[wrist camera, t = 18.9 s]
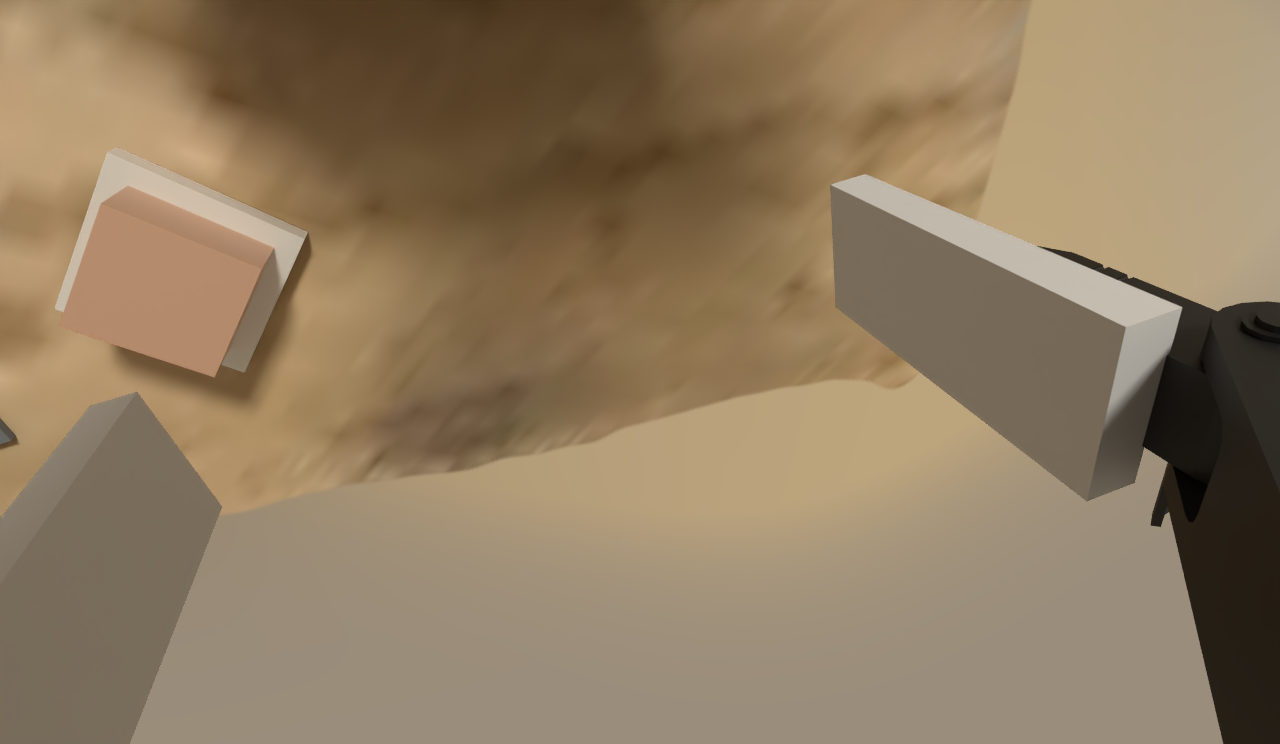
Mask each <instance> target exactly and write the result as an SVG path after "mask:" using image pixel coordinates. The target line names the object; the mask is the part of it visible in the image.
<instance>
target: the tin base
mask: <svg viewBox="0 0 1280 744" xmlns="http://www.w3.org/2000/svg"><path fill="white" fill-rule="evenodd" d="M307 233H308V232H307V231H304V230H302V229H300V228H298V227H295V226H293V225H291V224H289V223H286V222H284V221H282V220H280V219H277V218H275V217H273V216H271V215H268V214H266V213H264V212H262V211H259V210H257V209H255V208H253V207H250V206H248V205H246V204H244V203H242V202H239V201H237V200H235V199H233V198H230V197H228V196H226V195H224V194H221V193H219V192H217V191H215V190H212V189H210V188H208V187H206V186H203V185H201V184H199V183H197V182H194V181H192V180H190V179H188V178H185V177H183V176H181V175H179V174H176V173H174V172H172V171H170V170H168V169H165V168H163V167H161V166H159V165H156V164H154V163H152V162H150V161H147V160H145V159H143V158H141V157H138V156H136V155H134V154H132V153H129V152H127V151H125V150H123V149H120V148H118V147H116V148H114V149H112V150H110V151H109V152H107V154H106V157H105V160H104V163H103V166H102V169H101V172H100V175H99V178H98V181H97V184H96V187H95V190H94V193H93V196H92V199H91V202H90V205H89V208H88V211H87V214H86V217H85V220H84V223H83V226H82V229H81V232H80V235H79V238H78V241H77V244H76V247H75V250H74V252H73V255H72V258H71V261H70V264H69V267H68V270H67V273H66V276H65V279H64V282H63V285H62V288H61V291H60V294H59V297H58V300H57V303H56V306H55V309H56V310H59V311H62V312H63V315H62V318H61V321H60V324H59V327H62V328H65V329H68V330H71V331H74V332H77V333H80V334H83V335H86V336H89V337H92V338H95V339H98V340H101V341H104V342H107V343H111V344H114V345H117V346H120V347H123V348H126V349H129V350H132V351H135V352H138V353H141V354H144V355H147V356H150V357H153V358H156V359H159V360H163V361H166V362H169V363H172V364H175V365H178V366H181V367H184V368H187V369H190V370H193V371H196V372H199V373H202V374H205V375H208V376H211V377H215V376H216V374H217V372H218V370H219V368H220V367H221V365H222V366H225V367H228V368H231V369H234V370H237V371H240V372H243V373H245V371H246V369H247V367H248V364H249V362H250V360H251V358H252V356H253V353H254V351H255V349H256V347H257V344H258V342H259V340H260V338H261V336H262V333H263V331H264V329H265V327H266V324H267V322H268V320H269V318H270V316H271V313H272V311H273V309H274V307H275V304H276V302H277V300H278V298H279V296H280V293H281V291H282V289H283V287H284V284H285V282H286V280H287V278H288V276H289V273H290V271H291V269H292V267H293V264H294V262H295V260H296V258H297V256H298V253H299V251H300V249H301V247H302V244H303V242H304V240H305V238H306V236H307Z"/></svg>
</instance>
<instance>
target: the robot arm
mask: <svg viewBox="0 0 1280 744" xmlns="http://www.w3.org/2000/svg"><path fill="white" fill-rule="evenodd" d="M830 190H831V212H832V235H833V258H834V281H835V303H836V308H837V309H839V310H840V311H841V312H843V313H844V314H845V315H847V316H848V317H849V318H850V319H852V320H853V321H854V322H856V323H857V324H858V325H859V326H861V327H862V328H863V329H865V330H866V331H867V332H869V333H870V334H871V335H872V336H874V337H875V338H876V339H878V340H879V341H880V342H881V343H883V344H884V345H885V346H887V347H888V348H889V349H891V350H892V351H893V352H894V353H896V354H897V355H898V356H900V357H901V358H902V359H903V360H905V361H906V362H907V363H909V364H910V365H911V366H913V367H914V368H915V369H916V370H918V371H919V372H920V373H922V374H923V375H924V376H925V377H927V378H928V379H929V380H931V381H932V382H933V383H935V384H936V385H937V386H939V387H940V388H941V389H942V390H944V391H945V392H946V393H947V394H949V395H950V396H951V397H953V398H954V399H955V400H957V401H958V402H959V403H961V404H962V405H963V406H964V407H966V408H967V409H968V410H969V411H971V412H972V413H973V414H975V415H976V416H977V417H979V418H980V419H981V420H982V421H984V422H985V423H986V424H988V425H989V426H990V427H991V428H993V429H994V430H995V431H997V432H998V433H999V434H1000V435H1002V436H1003V437H1004V438H1006V439H1007V440H1008V441H1010V442H1011V443H1012V444H1014V445H1015V446H1016V447H1017V448H1019V449H1020V450H1021V451H1023V452H1024V453H1025V454H1026V455H1028V456H1029V457H1030V458H1032V459H1033V460H1034V461H1036V462H1037V463H1038V464H1039V465H1041V466H1042V467H1043V468H1045V469H1046V470H1047V471H1048V472H1050V473H1051V474H1052V475H1054V476H1055V477H1056V478H1057V479H1059V480H1060V481H1061V482H1063V483H1064V484H1065V485H1067V486H1068V487H1069V488H1070V489H1072V490H1073V491H1074V492H1076V493H1077V494H1078V495H1080V496H1081V497H1082V498H1083V499H1085V500H1086V501H1089V500H1091V499H1094V498H1096V497H1099V496H1101V495H1104V494H1107V493H1109V492H1112V491H1114V490H1117V489H1120V488H1122V487H1124V486H1127V485H1130V484H1133V483H1135V479H1136V476H1137V472H1138V468H1139V465H1140V461H1141V457H1142V454H1143V450H1144V447H1145V448H1146V449H1148V450H1150V451H1151V452H1153V453H1155V454H1156V455H1157V456H1159V457H1161V458H1162V459H1164V460H1166V461H1167V462H1168V464H1167V467H1166V470H1165V474H1164V477H1163V480H1162V483H1161V487H1160V490H1159V493H1158V497H1157V500H1156V503H1155V507H1154V510H1153V513H1152V519H1151V526H1159V527H1161V524H1162V521H1163V518H1164V515H1165V514H1166V513H1168V512H1169V513H1170V517H1171V521H1172V525H1173V530H1174V534H1175V538H1176V543H1177V547H1178V552H1179V556H1180V560H1181V564H1182V569H1183V573H1184V577H1185V582H1186V586H1187V590H1188V594H1189V598H1190V602H1191V607H1192V611H1193V615H1194V620H1195V624H1196V629H1197V633H1198V637H1199V641H1200V646H1201V650H1202V654H1203V658H1204V663H1205V667H1206V671H1207V676H1208V680H1209V684H1210V688H1211V693H1212V697H1213V701H1214V705H1215V710H1216V714H1217V718H1218V723H1219V727H1220V731H1221V735H1222V740H1223V744H1280V303H1277V302H1251V303H1240V304H1236V305H1233V306H1229V307H1225V308H1222V309H1221V310H1220V311H1218V312H1217V311H1215V310H1213V309H1210V308H1208V307H1205V306H1203V305H1201V304H1198V303H1195V302H1193V301H1191V300H1188V299H1186V298H1183V297H1181V296H1178V295H1176V294H1173V293H1171V292H1169V291H1166V290H1164V289H1161V288H1159V287H1156V286H1154V285H1151V284H1149V283H1146V282H1144V281H1142V280H1139V279H1137V278H1134V277H1133V278H1130V279H1129V278H1128V277H1127V274H1124V273H1122V272H1119V271H1117V270H1114V269H1112V268H1110V267H1108V268H1105V269H1104V268H1103V265H1102V264H1100V263H1097V262H1095V261H1092V260H1090V259H1087V258H1085V257H1083V256H1080V255H1078V254H1075V253H1072V252H1066V251H1061V250H1056V249H1050V248H1045V247H1039V246H1035V245H1033V244H1030V243H1028V242H1025V241H1023V240H1021V239H1018V238H1016V237H1014V236H1011V235H1009V234H1007V233H1004V232H1002V231H999V230H997V229H995V228H992V227H990V226H987V225H985V224H983V223H980V222H978V221H976V220H973V219H971V218H968V217H966V216H964V215H961V214H959V213H957V212H954V211H952V210H949V209H947V208H945V207H942V206H940V205H937V204H935V203H933V202H930V201H928V200H926V199H923V198H921V197H918V196H916V195H914V194H911V193H909V192H907V191H904V190H902V189H899V188H897V187H895V186H892V185H890V184H887V183H885V182H883V181H880V180H878V179H876V178H873V177H871V176H868V175H866V174H864V175H861V176H858V177H854V178H851V179H847V180H844V181H841V182H837V183H834V184H831V185H830ZM221 508H222V506H221V505H220V503H219V502H218V500H217V499H216V498H215V496H214V495H213V494H212V492H211V491H210V490H209V488H208V487H207V486H206V484H205V483H204V482H203V480H202V479H201V478H200V476H199V475H198V473H197V472H196V471H195V469H194V468H193V467H192V465H191V464H190V463H189V461H188V460H187V459H186V457H185V456H184V455H183V453H182V452H181V450H180V449H179V448H178V446H177V445H176V444H175V442H174V441H173V440H172V438H171V437H170V436H169V434H168V433H167V432H166V430H165V429H164V428H163V426H162V425H161V423H160V422H159V421H158V419H157V418H156V417H155V415H154V414H153V413H152V411H151V410H150V409H149V407H148V406H147V405H146V403H145V402H144V400H143V399H142V398H141V396H140V395H139V394H138V392H135V393H132V394H128V395H125V396H122V397H118V398H115V399H112V400H108V401H105V402H102V403H98V404H95V405H92V406H90V407H89V408H88V409H87V411H86V412H85V413H84V414H83V416H82V417H81V418H80V419H79V421H78V422H77V423H76V424H75V426H74V427H73V428H72V429H71V431H70V432H69V433H68V434H67V436H66V437H65V438H64V439H63V441H62V442H61V443H60V444H59V446H58V447H57V448H56V449H55V451H54V452H53V453H52V454H51V456H50V457H49V458H48V459H47V461H46V462H45V463H44V464H43V466H42V467H41V468H40V469H39V471H38V472H37V473H36V474H35V476H34V477H33V478H32V479H31V481H30V482H29V483H28V484H27V486H26V487H25V488H24V489H23V491H22V492H21V493H20V494H19V496H18V497H17V498H16V499H15V501H14V502H13V503H12V504H11V506H10V507H9V508H8V509H7V511H6V512H5V513H4V514H3V516H2V517H1V518H0V744H130V741H131V739H132V736H133V734H134V731H135V729H136V726H137V724H138V721H139V718H140V716H141V713H142V711H143V708H144V706H145V703H146V700H147V698H148V695H149V693H150V690H151V688H152V685H153V682H154V680H155V677H156V675H157V672H158V670H159V667H160V665H161V662H162V659H163V657H164V654H165V652H166V649H167V647H168V644H169V642H170V639H171V636H172V634H173V631H174V629H175V626H176V623H177V621H178V618H179V616H180V613H181V611H182V608H183V606H184V603H185V601H186V598H187V595H188V593H189V590H190V587H191V585H192V583H193V580H194V577H195V575H196V572H197V570H198V567H199V564H200V562H201V559H202V557H203V554H204V552H205V549H206V546H207V544H208V542H209V539H210V536H211V534H212V531H213V529H214V526H215V524H216V521H217V518H218V516H219V513H220V511H221Z"/></svg>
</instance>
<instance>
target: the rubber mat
mask: <svg viewBox="0 0 1280 744" xmlns="http://www.w3.org/2000/svg"><path fill="white" fill-rule="evenodd" d="M14 437H15V435H14V434H13V432H12V431H11V430H10V429H9V428H8V427H7V426H6V425H5V424H4V422H3V421H2V420H1V419H0V444H3V443H6V442H10V441H12V440H13V439H14Z"/></svg>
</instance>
